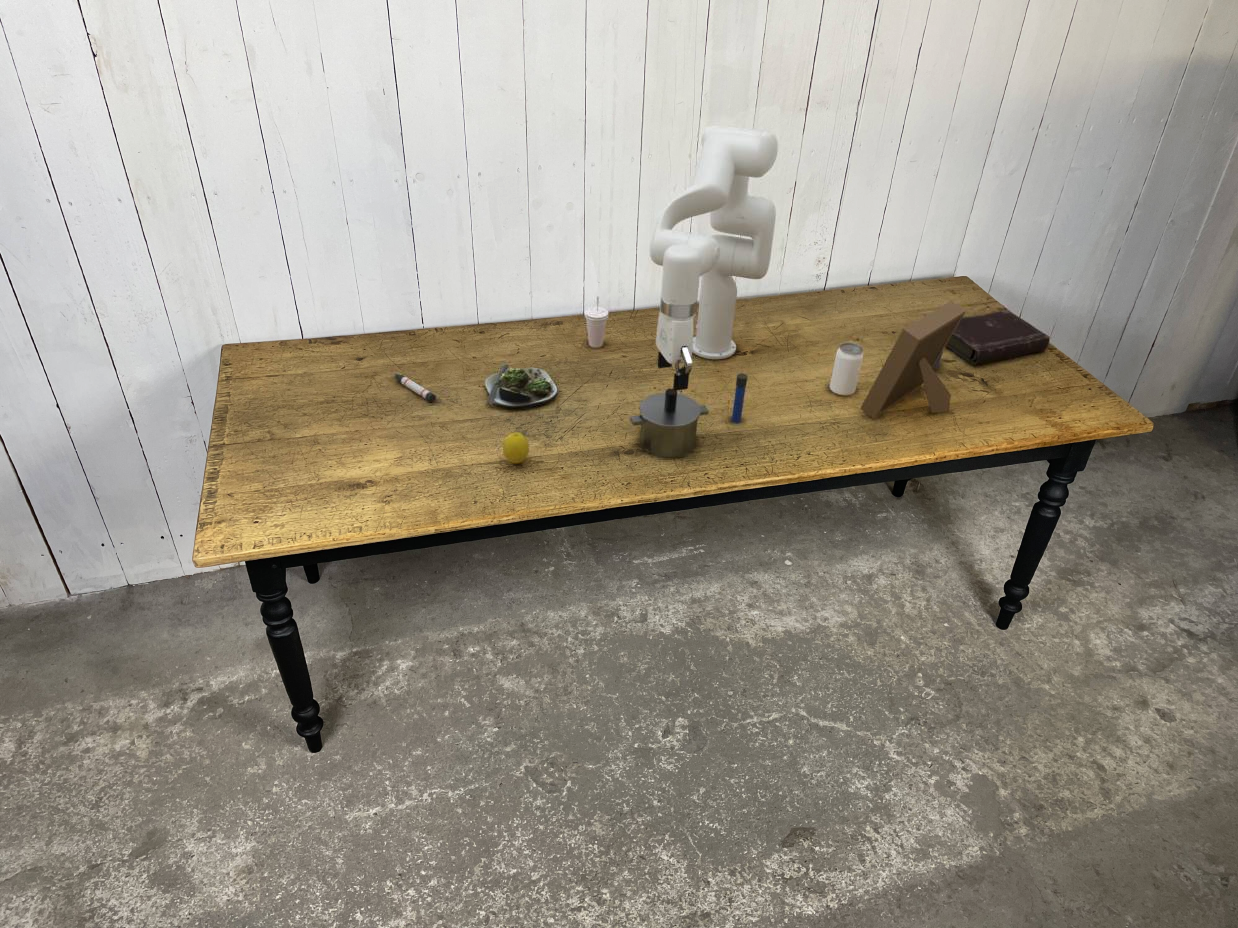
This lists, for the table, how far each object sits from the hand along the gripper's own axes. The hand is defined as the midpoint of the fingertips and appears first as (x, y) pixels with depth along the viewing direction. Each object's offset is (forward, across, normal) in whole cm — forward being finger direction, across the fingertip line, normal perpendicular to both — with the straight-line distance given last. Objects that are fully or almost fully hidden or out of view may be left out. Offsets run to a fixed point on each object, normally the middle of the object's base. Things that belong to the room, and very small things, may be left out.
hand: (672, 378), depth 188 cm
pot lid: (+9, 0, 0) cm, 9 cm away
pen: (+17, -4, +19) cm, 26 cm away
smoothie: (+17, -48, -3) cm, 51 cm away
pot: (+17, 0, 0) cm, 17 cm away
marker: (+17, -37, -53) cm, 67 cm away
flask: (+17, -14, +79) cm, 82 cm away
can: (+17, -10, +51) cm, 55 cm away
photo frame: (+17, +2, +63) cm, 66 cm away
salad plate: (+17, -29, -28) cm, 44 cm away
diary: (+17, -21, +103) cm, 107 cm away
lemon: (+18, -1, -35) cm, 39 cm away
